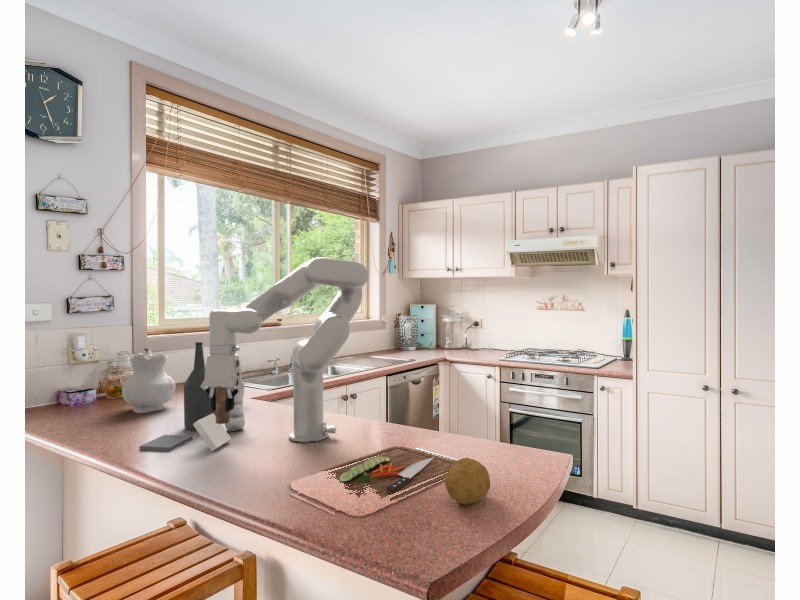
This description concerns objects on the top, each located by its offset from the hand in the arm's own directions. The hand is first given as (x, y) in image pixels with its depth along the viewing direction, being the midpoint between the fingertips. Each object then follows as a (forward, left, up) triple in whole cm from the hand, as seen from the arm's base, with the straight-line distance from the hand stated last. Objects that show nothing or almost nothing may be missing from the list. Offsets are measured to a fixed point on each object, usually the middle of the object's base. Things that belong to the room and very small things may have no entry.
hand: (222, 409), depth 153 cm
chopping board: (-53, +18, -12) cm, 57 cm away
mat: (+19, 0, -11) cm, 22 cm away
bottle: (+19, -20, -12) cm, 30 cm away
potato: (-75, +30, -12) cm, 81 cm away
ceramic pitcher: (+55, -43, -12) cm, 71 cm away
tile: (0, 0, -11) cm, 11 cm away
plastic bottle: (+5, -18, -12) cm, 22 cm away
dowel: (0, 0, -4) cm, 4 cm away
